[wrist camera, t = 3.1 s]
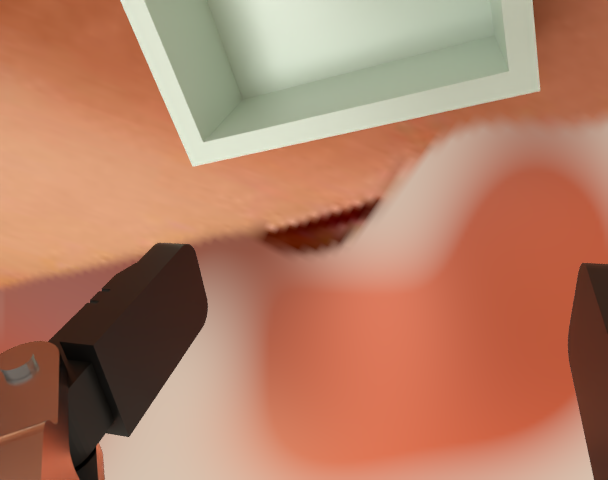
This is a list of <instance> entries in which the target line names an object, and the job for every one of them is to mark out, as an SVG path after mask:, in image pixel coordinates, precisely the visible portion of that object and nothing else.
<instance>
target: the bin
mask: <svg viewBox="0 0 608 480" xmlns="http://www.w3.org/2000/svg"><path fill="white" fill-rule="evenodd" d="M120 1H121V3H122V6H123V8H124V10H125V12H126V15H127V17H128V19H129V22H130V24H131V26H132V29H133V31H134V33H135V35H136V38H137V40H138V42H139V45H140V47H141V49H142V51H143V54H144V56H145V58H146V61H147V63H148V65H149V68H150V70H151V72H152V74H153V77H154V79H155V81H156V84H157V86H158V88H159V90H160V93H161V95H162V97H163V100H164V102H165V104H166V106H167V109H168V111H169V113H170V116H171V118H172V120H173V123H174V125H175V127H176V129H177V132H178V134H179V136H180V139H181V141H182V143H183V145H184V148H185V150H186V152H187V155H188V157H189V159H190V162H191V164H192V166H198V165H202V164H207V163H212V162H216V161H221V160H225V159H230V158H234V157H239V156H244V155H248V154H253V153H257V152H262V151H267V150H271V149H276V148H280V147H285V146H290V145H294V144H299V143H303V142H308V141H313V140H317V139H322V138H326V137H331V136H336V135H340V134H345V133H349V132H354V131H359V130H363V129H368V128H372V127H377V126H382V125H386V124H391V123H395V122H400V121H405V120H409V119H414V118H418V117H423V116H427V115H432V114H437V113H441V112H446V111H450V110H455V109H460V108H464V107H469V106H473V105H478V104H483V103H487V102H492V101H496V100H501V99H506V98H510V97H515V96H519V95H524V94H529V93H533V92H538V91H540V81H539V70H538V58H537V47H536V35H535V24H534V12H533V1H532V0H120Z"/></svg>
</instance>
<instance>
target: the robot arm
mask: <svg viewBox="0 0 608 480" xmlns="http://www.w3.org/2000/svg"><path fill="white" fill-rule="evenodd" d="M207 308H208V303H207V297H206V293H205V289H204V285H203V281H202V277H201V272H200V268H199V264H198V260H197V256H196V253H195V250H194V248H193V247H192V246H191V245H189V244H173V243H157V244H155V245H154V246H153V247H152V248H151V249H150V250H149V251H148V252H147V253H146V254H145V255H144V256H143V257H142V258H141V259H140V260H139V261H138V262H137V263H135V264H133V265H132V266H130V267H128V268H126V269H125V270H123V271H121V272H120V273H118V274H116V275H115V276H114V277H113V278H112V279H111V280H110V281H109V282H108V283H107V284H106V285H105V286H104V287H103V288H102V291H99V292H98V293H97V294H96V295H95V296H94V297H93V298H92V299H91V300H90V303H87V304H86V305H85V306H84V307H83V308H82V309H81V310H80V311H79V312H78V313H77V314H76V315H75V316H73V317H72V318H71V319H70V321H68V322H67V323H66V324H65V325H64V326H63V327H62V329H61V330H59V331H58V332H57V333H56V334H55V335H54V337H52V338H51V339H50V340H49V341H48V342H44V341H35V342H29V343H25V344H21V345H18V346H16V347H13V348H11V349H9V350H7V351H5V352H3V353H1V354H0V480H105V476H104V462H103V452H102V449H101V447H100V444H99V441H100V440H101V439H102V437H103V436H104V435H105V433H108V434H114V435H120V436H126V437H129V436H130V435H131V433H132V432H133V430H134V429H135V427H136V426H137V424H138V423H139V421H140V420H141V418H142V417H143V415H144V414H145V412H146V411H147V409H148V408H149V406H150V405H151V403H152V402H153V400H154V399H155V397H156V396H157V394H158V393H159V391H160V390H161V388H162V387H163V385H164V384H165V382H166V381H167V380H168V378H169V376H170V375H171V374H172V372H173V371H174V369H175V368H176V366H177V365H178V363H179V362H180V360H181V359H182V357H183V356H184V354H185V353H186V351H187V350H188V348H189V347H190V345H191V344H192V342H193V341H194V339H195V338H196V336H197V335H198V333H199V332H200V330H201V329H202V327H203V326H204V323H205V320H206V317H207V310H208V309H207ZM568 353H569V362H570V367H571V372H572V377H573V382H574V386H575V391H576V396H577V401H578V405H579V410H580V415H581V419H582V424H583V429H584V434H585V439H586V443H587V448H588V453H589V457H590V462H591V467H592V471H593V476H594V480H608V264H591V263H582V264H581V266H580V269H579V273H578V278H577V284H576V290H575V296H574V302H573V308H572V314H571V320H570V326H569V335H568Z"/></svg>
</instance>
